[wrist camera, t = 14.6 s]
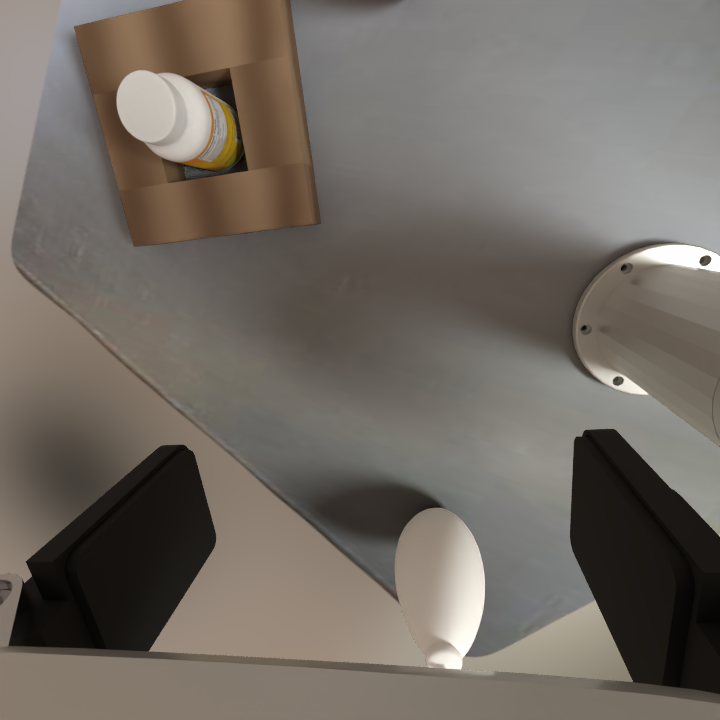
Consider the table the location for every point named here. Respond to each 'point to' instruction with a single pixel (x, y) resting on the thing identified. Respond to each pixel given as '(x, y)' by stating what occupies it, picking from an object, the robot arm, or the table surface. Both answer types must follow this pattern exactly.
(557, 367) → the table surface
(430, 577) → the white air blower bulb
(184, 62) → the bore block
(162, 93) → the supplement bottle
